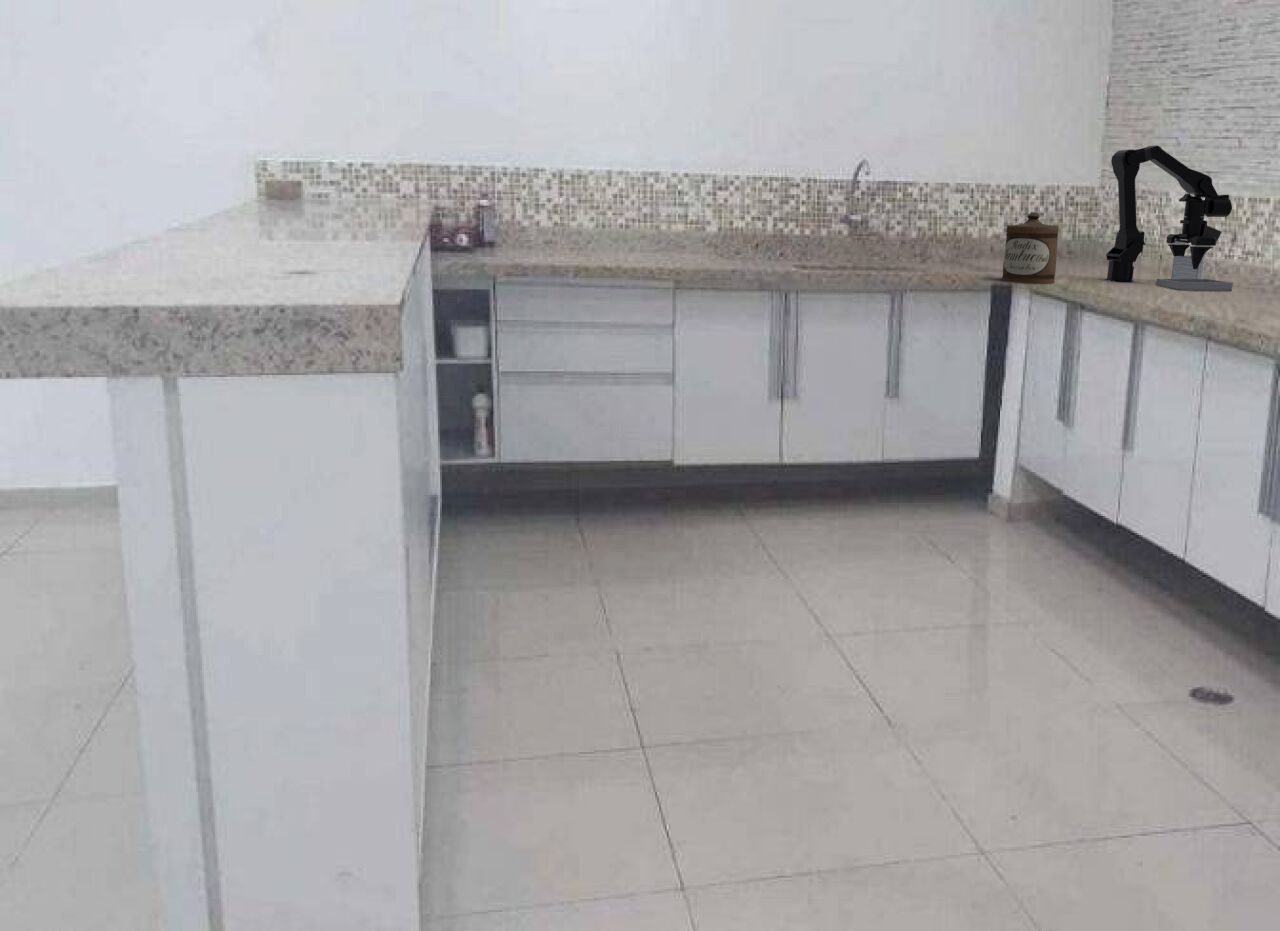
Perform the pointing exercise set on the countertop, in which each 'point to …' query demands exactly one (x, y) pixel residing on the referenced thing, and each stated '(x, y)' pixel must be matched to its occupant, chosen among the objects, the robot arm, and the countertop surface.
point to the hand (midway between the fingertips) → (1187, 268)
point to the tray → (1195, 284)
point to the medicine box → (1186, 268)
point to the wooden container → (1031, 252)
